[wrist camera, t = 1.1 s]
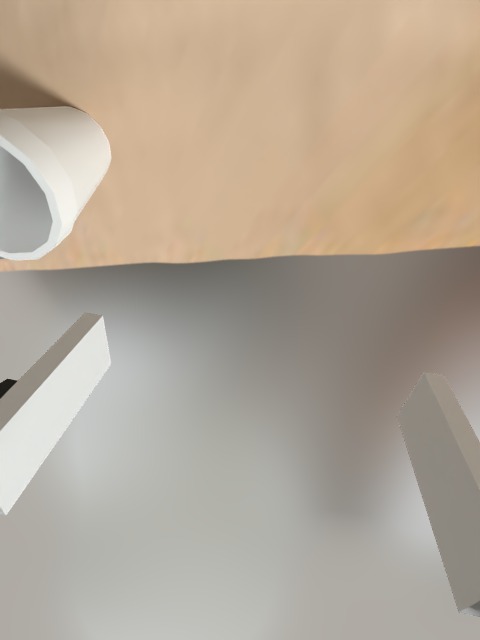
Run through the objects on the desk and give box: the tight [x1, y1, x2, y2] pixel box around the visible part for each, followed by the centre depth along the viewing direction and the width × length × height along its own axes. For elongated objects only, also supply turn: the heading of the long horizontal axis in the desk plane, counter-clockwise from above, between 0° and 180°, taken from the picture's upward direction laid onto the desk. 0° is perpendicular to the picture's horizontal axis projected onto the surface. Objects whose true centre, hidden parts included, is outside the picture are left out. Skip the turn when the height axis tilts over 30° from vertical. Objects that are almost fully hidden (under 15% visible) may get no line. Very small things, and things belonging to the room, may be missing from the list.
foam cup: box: [0, 106, 111, 260], centre depth 26 cm, size 10×9×13 cm
